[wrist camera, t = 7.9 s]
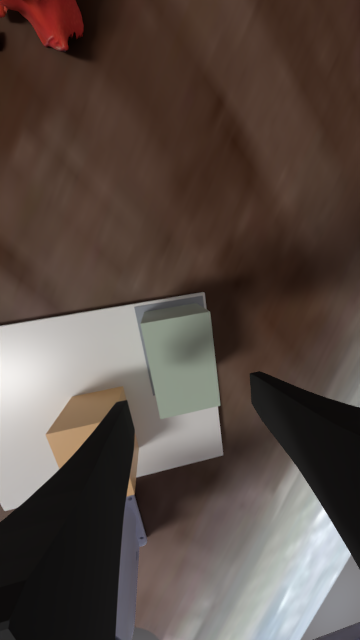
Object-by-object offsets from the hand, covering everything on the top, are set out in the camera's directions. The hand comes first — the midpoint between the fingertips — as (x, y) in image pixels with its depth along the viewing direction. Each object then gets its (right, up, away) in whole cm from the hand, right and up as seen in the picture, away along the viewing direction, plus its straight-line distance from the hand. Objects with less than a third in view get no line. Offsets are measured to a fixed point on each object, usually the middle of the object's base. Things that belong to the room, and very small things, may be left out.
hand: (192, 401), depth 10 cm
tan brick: (-8, -6, +9) cm, 14 cm away
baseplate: (-9, -4, +9) cm, 14 cm away
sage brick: (-1, +2, +8) cm, 8 cm away
